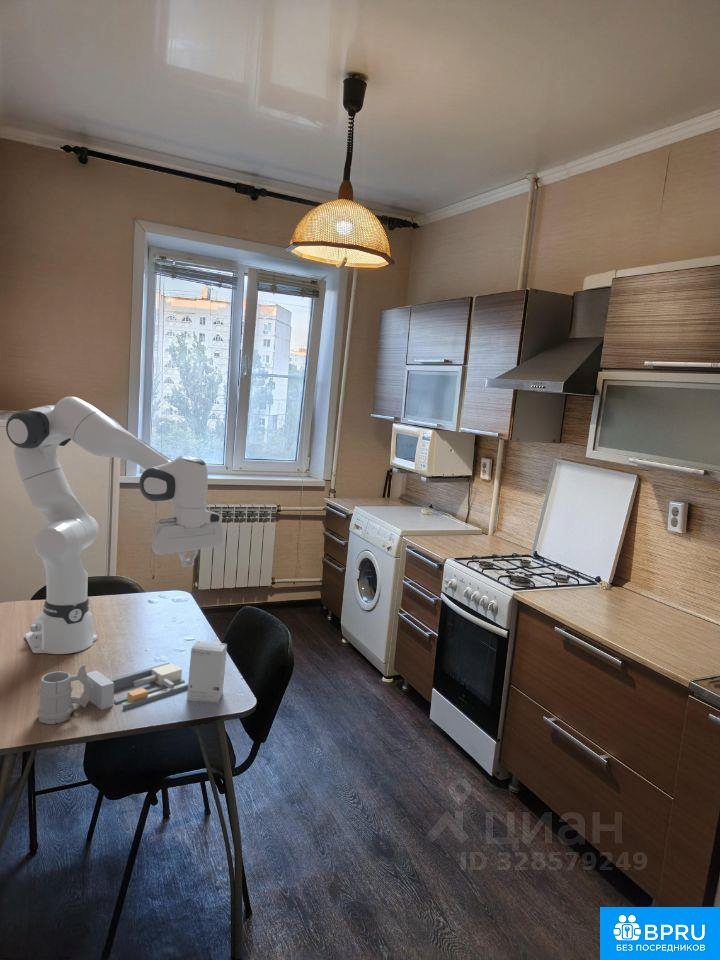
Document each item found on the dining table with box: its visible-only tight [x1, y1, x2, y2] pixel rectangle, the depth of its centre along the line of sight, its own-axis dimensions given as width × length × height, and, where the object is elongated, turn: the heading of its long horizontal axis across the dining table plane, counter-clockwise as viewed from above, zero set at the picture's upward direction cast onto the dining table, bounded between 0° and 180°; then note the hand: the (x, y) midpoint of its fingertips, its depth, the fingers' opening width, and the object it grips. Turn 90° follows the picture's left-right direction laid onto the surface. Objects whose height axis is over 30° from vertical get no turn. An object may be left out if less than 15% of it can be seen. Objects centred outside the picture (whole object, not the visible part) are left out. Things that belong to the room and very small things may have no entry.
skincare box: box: [186, 640, 228, 703], centre depth 161 cm, size 8×6×15 cm
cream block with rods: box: [133, 662, 183, 689], centre depth 164 cm, size 10×12×3 cm
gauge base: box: [87, 662, 188, 711], centre depth 163 cm, size 17×26×7 cm, turn 138°
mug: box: [36, 663, 92, 725], centre depth 149 cm, size 8×12×12 cm, turn 121°
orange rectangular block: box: [126, 687, 148, 703], centre depth 156 cm, size 3×4×2 cm, turn 138°
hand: (187, 566), depth 172 cm, fingers closed
